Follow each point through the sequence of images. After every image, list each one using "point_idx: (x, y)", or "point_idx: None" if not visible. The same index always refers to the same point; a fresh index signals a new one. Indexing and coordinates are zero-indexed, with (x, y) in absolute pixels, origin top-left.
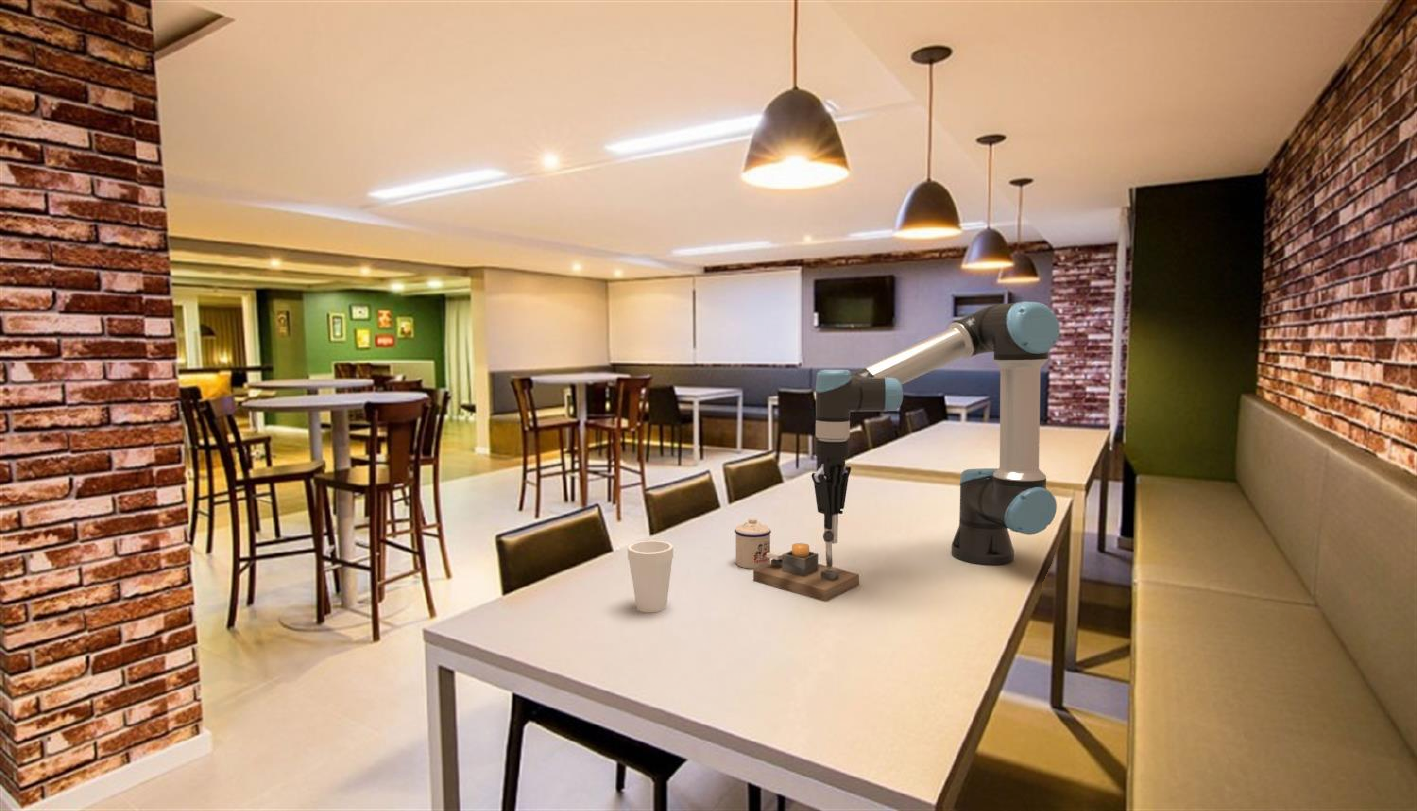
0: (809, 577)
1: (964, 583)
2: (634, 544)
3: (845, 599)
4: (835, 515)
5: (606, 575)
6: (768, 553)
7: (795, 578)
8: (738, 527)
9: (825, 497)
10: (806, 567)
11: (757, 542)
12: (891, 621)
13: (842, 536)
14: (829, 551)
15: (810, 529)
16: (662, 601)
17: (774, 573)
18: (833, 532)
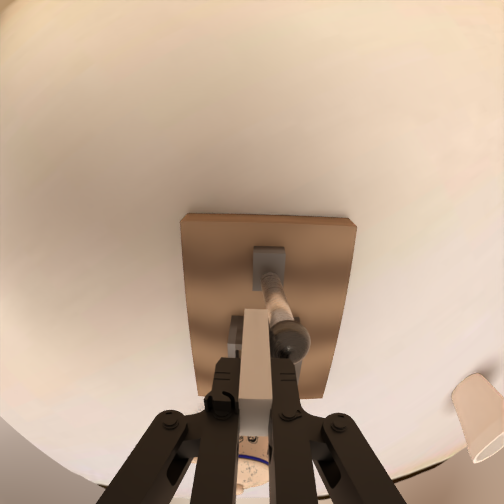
0: (294, 305)
1: (38, 58)
2: (489, 455)
3: (304, 188)
4: (264, 398)
5: (390, 464)
6: None
7: (321, 323)
8: (256, 485)
9: (396, 497)
10: None
11: (258, 448)
12: (356, 46)
13: (21, 361)
14: (287, 302)
15: (44, 404)
16: (480, 380)
17: (317, 367)
18: (268, 342)
